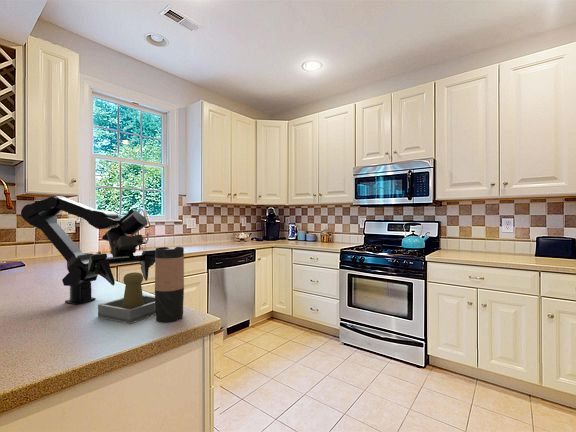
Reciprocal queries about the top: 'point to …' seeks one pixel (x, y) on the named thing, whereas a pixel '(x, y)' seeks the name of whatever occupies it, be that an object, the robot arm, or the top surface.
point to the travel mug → (169, 284)
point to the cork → (133, 290)
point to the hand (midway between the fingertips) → (130, 282)
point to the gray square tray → (127, 310)
